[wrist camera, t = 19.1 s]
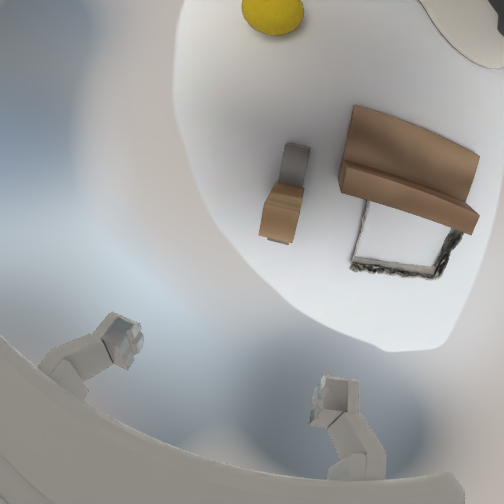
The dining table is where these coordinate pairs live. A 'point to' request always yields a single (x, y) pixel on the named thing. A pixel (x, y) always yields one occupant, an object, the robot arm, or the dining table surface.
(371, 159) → the stop bar
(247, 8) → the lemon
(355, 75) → the dining table surface
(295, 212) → the oak pusher
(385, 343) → the dining table surface
